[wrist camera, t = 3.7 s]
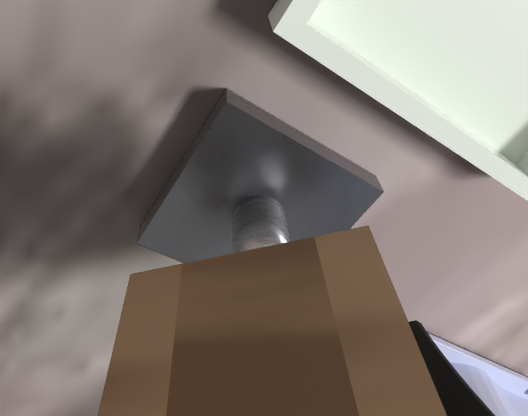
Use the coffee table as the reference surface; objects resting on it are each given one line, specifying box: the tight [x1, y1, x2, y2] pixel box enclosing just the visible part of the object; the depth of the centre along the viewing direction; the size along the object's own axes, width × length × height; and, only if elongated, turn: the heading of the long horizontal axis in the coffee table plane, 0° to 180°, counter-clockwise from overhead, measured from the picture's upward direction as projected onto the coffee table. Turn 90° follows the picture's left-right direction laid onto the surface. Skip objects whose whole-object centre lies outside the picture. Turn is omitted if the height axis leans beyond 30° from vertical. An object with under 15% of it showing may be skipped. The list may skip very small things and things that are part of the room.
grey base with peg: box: [137, 89, 384, 263], centre depth 15 cm, size 6×6×5 cm
